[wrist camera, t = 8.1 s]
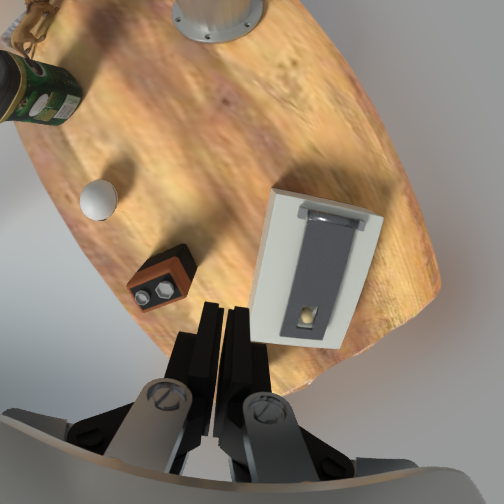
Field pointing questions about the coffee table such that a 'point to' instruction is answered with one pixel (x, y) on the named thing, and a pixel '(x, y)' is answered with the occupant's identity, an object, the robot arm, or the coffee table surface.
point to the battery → (163, 279)
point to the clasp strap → (318, 272)
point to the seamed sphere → (99, 200)
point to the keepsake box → (285, 260)
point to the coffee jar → (36, 91)
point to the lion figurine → (30, 24)
